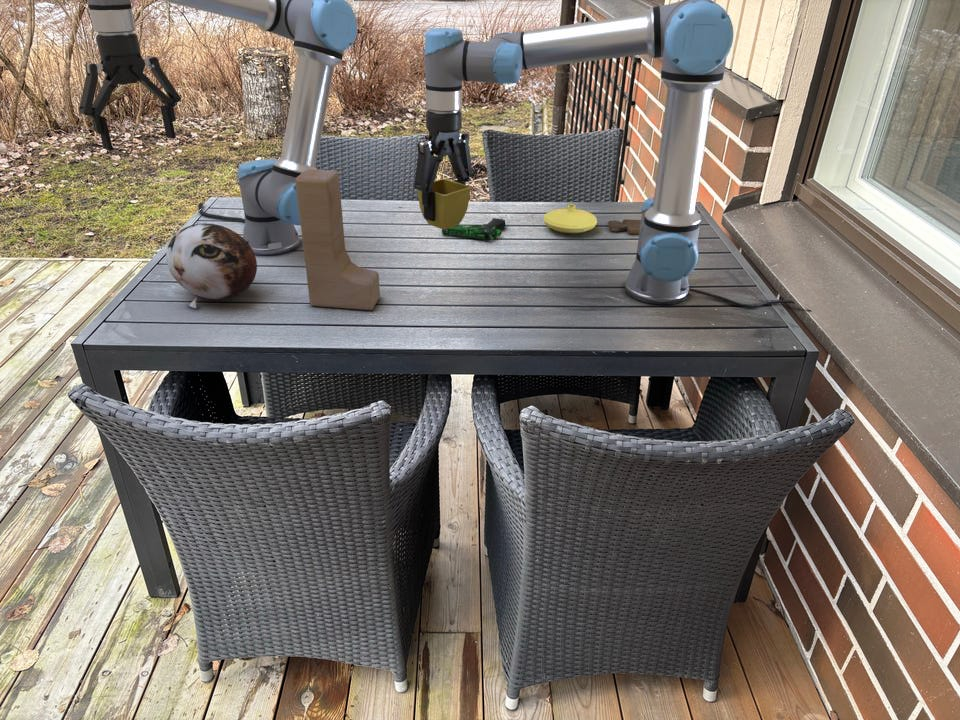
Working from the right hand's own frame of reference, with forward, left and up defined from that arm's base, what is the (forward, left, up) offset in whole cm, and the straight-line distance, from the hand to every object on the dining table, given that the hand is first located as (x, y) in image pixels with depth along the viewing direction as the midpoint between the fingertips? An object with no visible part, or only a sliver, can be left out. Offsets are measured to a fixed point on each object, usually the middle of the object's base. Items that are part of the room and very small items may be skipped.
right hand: (444, 214), depth 160 cm
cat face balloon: (+54, -3, -20) cm, 57 cm away
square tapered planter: (0, 0, -3) cm, 3 cm away
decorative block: (+23, +2, -20) cm, 31 cm away
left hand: (+63, -3, +15) cm, 65 cm away
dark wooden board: (-63, -42, -20) cm, 78 cm away
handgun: (-11, -42, -20) cm, 48 cm away
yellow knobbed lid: (-38, -43, -20) cm, 61 cm away
